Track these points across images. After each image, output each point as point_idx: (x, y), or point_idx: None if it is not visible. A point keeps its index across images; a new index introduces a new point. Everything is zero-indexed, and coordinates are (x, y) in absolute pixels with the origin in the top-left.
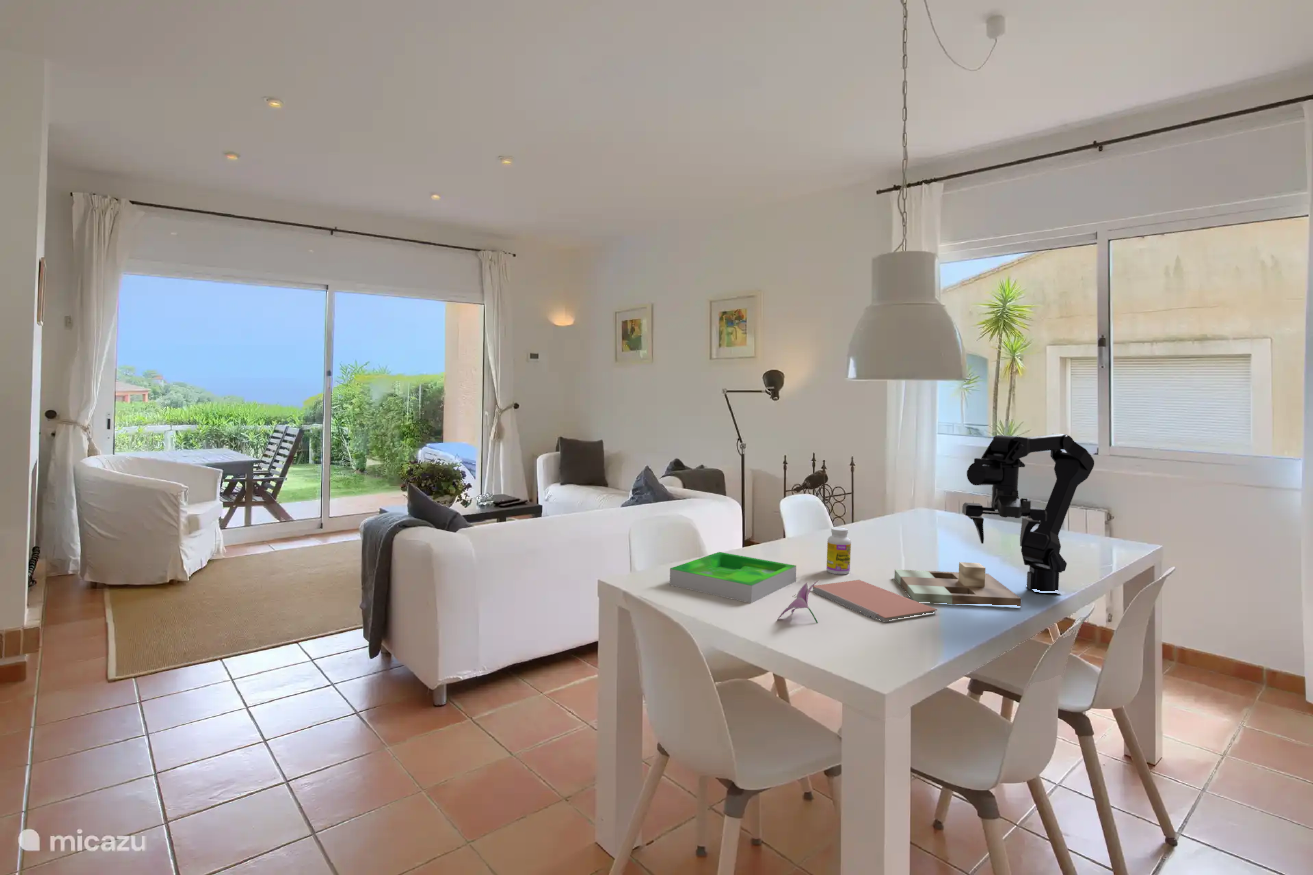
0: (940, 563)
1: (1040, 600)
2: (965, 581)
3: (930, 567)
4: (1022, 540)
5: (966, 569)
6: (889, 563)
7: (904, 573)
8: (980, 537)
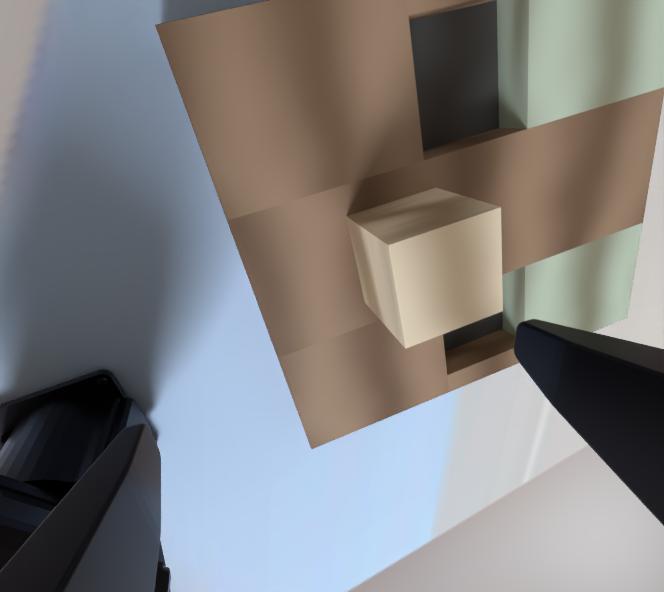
0: (425, 539)
1: (73, 263)
2: (444, 191)
3: (461, 484)
4: (116, 478)
5: (483, 205)
6: (562, 455)
7: (614, 277)
8: (604, 335)
